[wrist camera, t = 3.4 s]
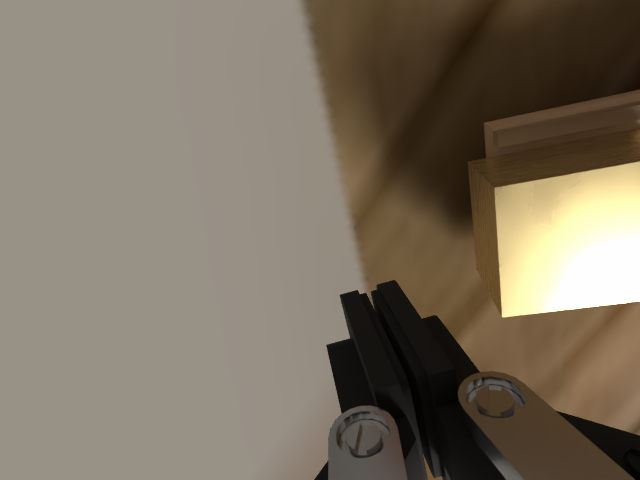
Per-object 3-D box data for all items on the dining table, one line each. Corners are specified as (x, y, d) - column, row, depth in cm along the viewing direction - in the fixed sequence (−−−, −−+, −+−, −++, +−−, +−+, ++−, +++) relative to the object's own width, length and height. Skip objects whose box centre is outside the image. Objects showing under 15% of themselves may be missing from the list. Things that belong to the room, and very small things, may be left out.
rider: (467, 161, 15) (494, 188, 12) (643, 127, 14) (725, 146, 11) (476, 269, 17) (502, 317, 14) (632, 247, 16) (700, 293, 12)
